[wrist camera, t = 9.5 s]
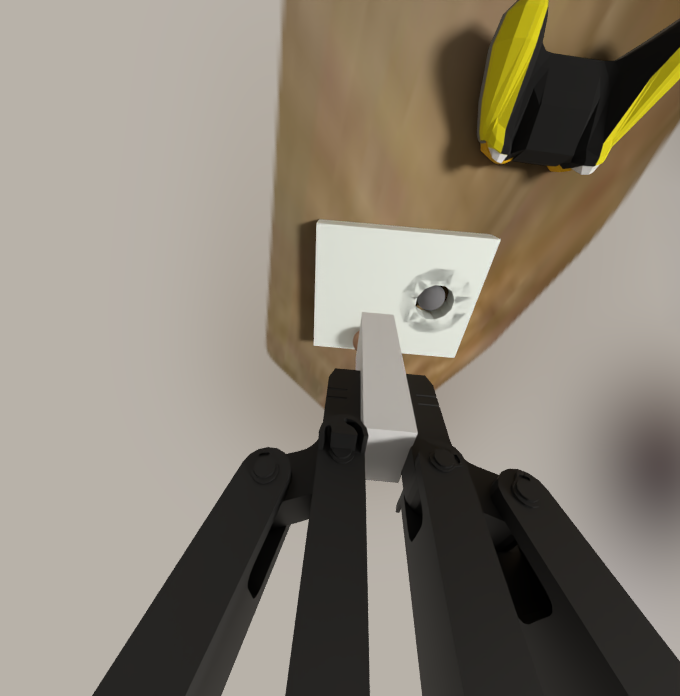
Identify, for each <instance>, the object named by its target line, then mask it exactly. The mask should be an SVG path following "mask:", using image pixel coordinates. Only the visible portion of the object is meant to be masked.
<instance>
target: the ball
mask: <svg viewBox="0 0 680 696" xmlns="http://www.w3.org/2000/svg"><path fill="white" fill-rule="evenodd" d="M444 300H445V292H444V290H443V288H442V287H441V286H439V285H434V286H431V287H429V288H426V289H424V290H423V291H422V293H421V294H420V295H419V296H418V297H417V302H418V304H419V306H420V307H421V308H423V309H425V310H430V311H431V310H436V309H438V308H439V307H440V306H441V305H442V304H443V302H444Z"/></svg>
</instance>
